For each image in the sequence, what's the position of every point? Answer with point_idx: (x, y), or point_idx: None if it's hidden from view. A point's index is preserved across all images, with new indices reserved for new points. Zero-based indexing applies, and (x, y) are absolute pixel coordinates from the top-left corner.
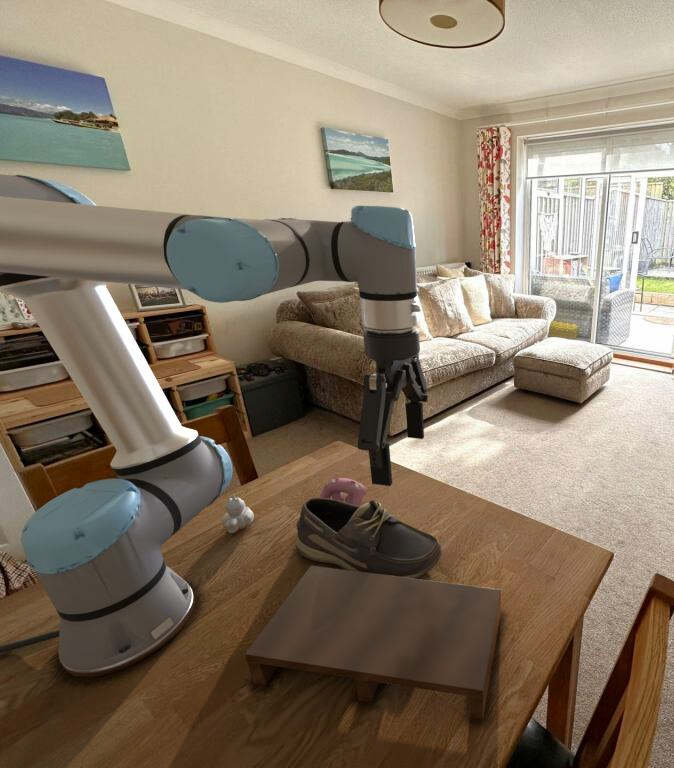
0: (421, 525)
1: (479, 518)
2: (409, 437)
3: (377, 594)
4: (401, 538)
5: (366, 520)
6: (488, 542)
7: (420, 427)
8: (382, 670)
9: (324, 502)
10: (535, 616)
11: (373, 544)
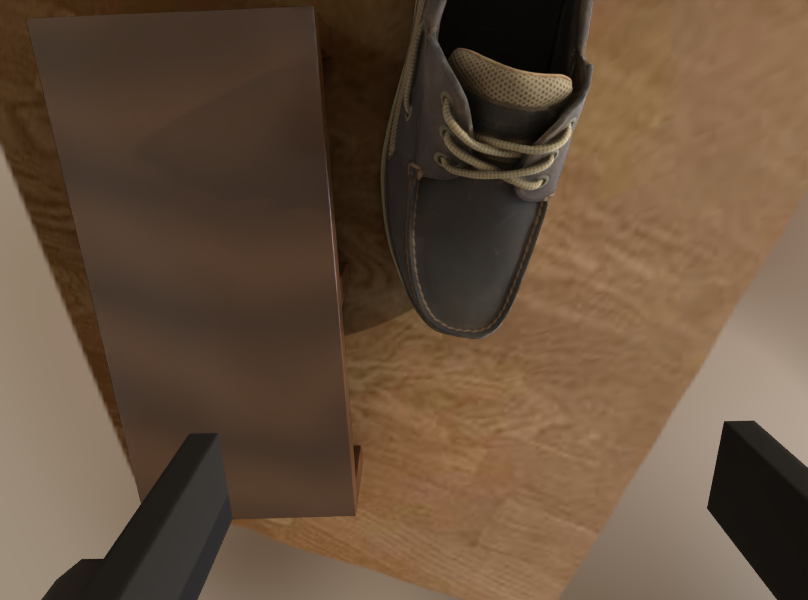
0: (612, 213)
1: (652, 364)
2: (724, 432)
3: (272, 259)
4: (481, 231)
5: (482, 123)
6: (562, 404)
7: (761, 567)
8: (112, 351)
9: None
10: (377, 520)
11: (428, 168)
